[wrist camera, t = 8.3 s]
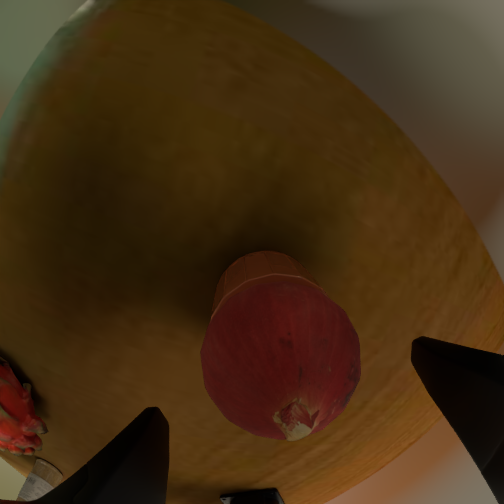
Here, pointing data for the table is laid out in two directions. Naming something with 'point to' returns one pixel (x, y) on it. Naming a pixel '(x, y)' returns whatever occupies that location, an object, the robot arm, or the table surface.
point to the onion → (281, 360)
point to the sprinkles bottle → (39, 481)
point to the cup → (260, 275)
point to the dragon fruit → (18, 415)
